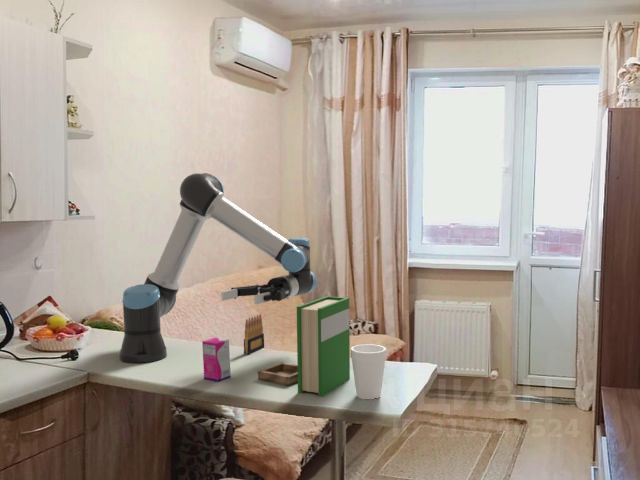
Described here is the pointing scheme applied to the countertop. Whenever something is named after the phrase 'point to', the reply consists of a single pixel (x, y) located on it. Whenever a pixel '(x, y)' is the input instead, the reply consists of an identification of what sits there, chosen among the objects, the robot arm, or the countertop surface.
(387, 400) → the countertop surface
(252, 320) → the ammunition clip
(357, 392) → the foam cup
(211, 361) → the supplement box
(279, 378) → the shallow wooden tray
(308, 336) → the hardback book
